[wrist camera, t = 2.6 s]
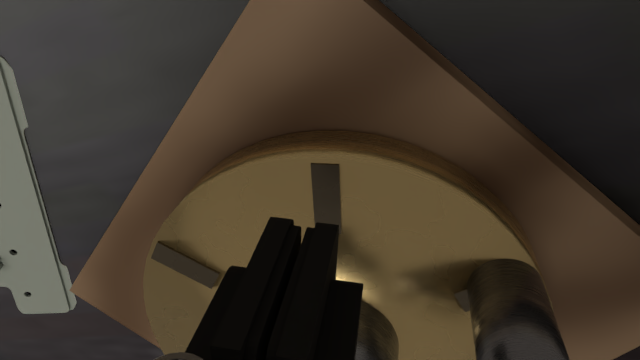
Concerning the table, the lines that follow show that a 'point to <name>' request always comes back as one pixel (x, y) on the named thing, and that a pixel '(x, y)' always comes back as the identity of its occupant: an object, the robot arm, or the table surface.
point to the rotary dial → (364, 247)
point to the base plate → (389, 121)
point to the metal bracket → (26, 217)
